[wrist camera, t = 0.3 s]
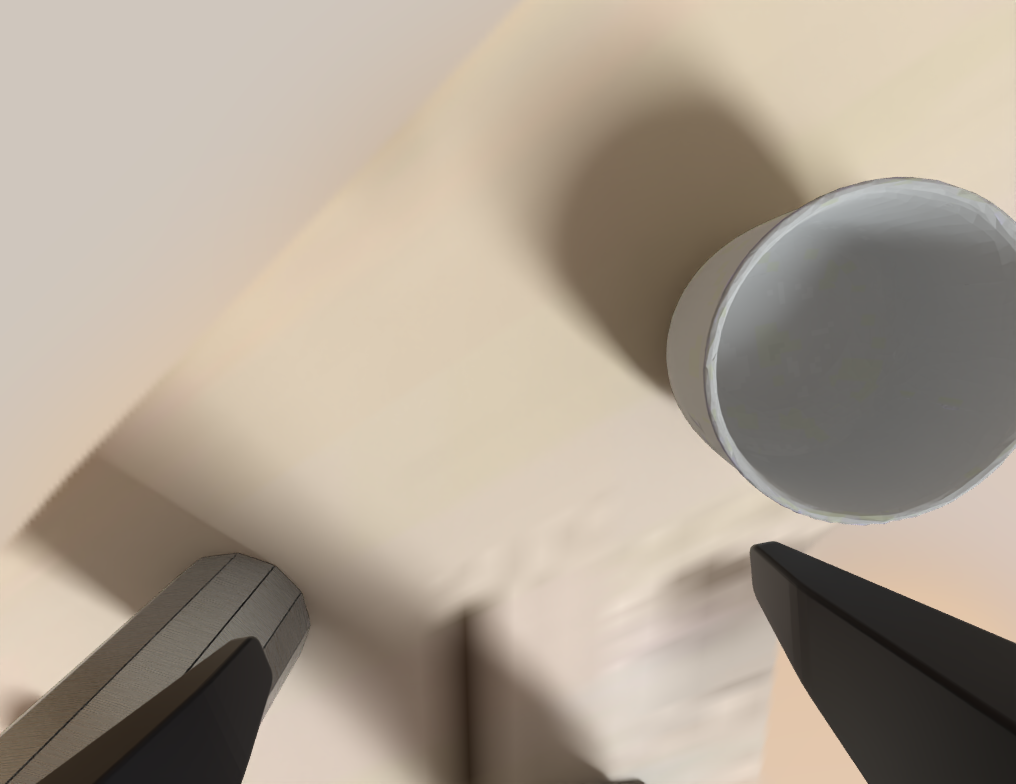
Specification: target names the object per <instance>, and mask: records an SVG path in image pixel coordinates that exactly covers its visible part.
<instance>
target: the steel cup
mask: <svg viewBox="0 0 1016 784" xmlns="http://www.w3.org/2000/svg"><path fill="white" fill-rule="evenodd" d="M300 592H301V591H300V590H299V589H298V588H297V587H296V586H295V585H294V584H293V583H292V582H291V581H290V580H289V579H288V578H287V577H286V576H285V575H284V574H283V573H282V572H281V571H280V570H279V569H278V568H277V567H276V566H275V567H274V565H272V564H269V563H266V562H263V561H260V560H257V559H254V558H251V557H248V556H245V555H243V554H240V553H238V554H237V553H234V554H226V555H219V556H212V557H204V558H200V559H199V560H198V561H197V562H195V563H194V564H193V565H192V566H190V567H189V568H188V569H187V570H185V571H184V572H183V573H182V574H181V575H179V576H178V577H177V578H176V579H174V580H173V581H172V582H171V583H170V584H169V585H168V586H167V587H165V588H164V589H163V590H162V591H161V592H160V593H159V594H158V595H156V596H155V597H154V598H153V599H152V600H151V601H150V602H148V603H147V604H146V605H145V606H144V607H143V608H142V609H141V610H139V611H138V612H137V613H136V614H135V615H134V616H133V617H132V618H130V619H129V620H128V621H127V622H126V623H125V624H124V625H123V626H121V627H120V628H119V629H118V630H117V631H116V632H115V633H113V634H112V635H111V636H110V637H109V638H108V639H107V640H106V641H104V642H103V643H102V644H101V645H100V646H99V647H98V648H97V649H95V650H94V651H93V652H92V653H91V654H90V655H89V656H88V657H86V658H85V659H84V660H83V661H82V662H81V663H80V664H79V665H77V666H76V667H75V668H74V669H73V670H72V671H71V672H69V673H68V674H67V675H66V676H65V677H64V678H63V679H62V680H60V681H59V682H58V683H57V684H56V685H55V686H54V687H53V688H51V689H50V690H49V691H48V692H47V693H46V694H45V695H44V696H42V697H41V698H40V699H39V700H38V701H37V702H36V703H34V704H33V705H32V706H31V707H30V708H29V709H28V710H27V711H25V712H24V713H23V714H22V715H21V716H20V717H19V718H18V719H16V720H15V721H14V722H13V723H12V724H11V725H10V726H9V727H7V728H6V729H5V730H4V731H3V732H2V733H1V734H0V784H36V783H37V782H38V781H40V780H41V779H43V778H44V777H45V776H47V775H48V774H49V773H51V772H52V771H53V770H55V769H56V768H57V767H59V766H60V765H62V764H63V763H64V762H66V761H67V760H68V759H70V758H71V757H72V756H74V755H75V754H76V753H78V752H79V751H81V750H82V749H83V748H85V747H86V746H87V745H89V744H90V743H91V742H93V741H94V740H96V739H97V738H98V737H100V736H101V735H102V734H104V733H105V732H106V731H108V730H109V729H110V728H112V727H113V726H115V725H116V724H117V723H119V722H120V721H121V720H123V719H124V718H125V717H127V716H128V715H129V714H131V713H132V712H134V711H135V710H136V709H138V708H139V707H140V706H142V705H143V704H144V703H146V702H147V701H149V700H150V699H151V698H153V697H154V696H155V695H157V694H158V693H159V692H161V691H162V690H163V689H165V688H166V687H168V686H169V685H170V684H172V683H173V682H174V681H176V680H177V679H178V678H180V677H181V676H182V675H184V674H185V673H187V672H188V671H189V670H191V669H192V668H193V667H195V666H196V665H197V664H199V663H200V662H202V661H203V660H204V659H206V658H207V657H208V656H210V655H211V654H212V653H214V652H215V651H216V650H218V649H219V648H221V647H222V646H223V645H225V644H226V643H227V642H229V641H230V640H233V639H236V638H241V637H247V636H255V637H257V638H258V639H259V641H260V643H261V645H262V647H263V650H264V652H265V655H266V657H267V659H268V662H269V664H270V667H271V669H272V674H273V680H272V686H271V690H270V693H269V696H268V700H267V703H266V706H265V709H264V713H263V716H262V719H261V722H262V720H263V719H264V717H265V715H266V713H267V712H268V710H269V708H270V706H271V705H272V703H273V701H274V699H275V698H276V696H277V694H278V692H279V691H280V689H281V687H282V685H283V683H284V682H285V680H286V678H287V676H288V675H289V673H290V671H291V669H292V668H293V666H294V664H295V662H296V661H297V659H298V657H299V655H300V653H301V651H302V648H303V645H304V642H305V639H306V636H307V633H308V630H309V628H310V621H309V617H308V614H307V610H306V606H305V603H304V599H303V595H302V593H300ZM260 724H261V723H260Z"/></svg>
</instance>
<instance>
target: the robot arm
mask: <svg viewBox="0 0 1016 784" xmlns="http://www.w3.org/2000/svg"><path fill="white" fill-rule="evenodd" d="M750 563H751V574H752V585H753V590H754V593H755V596H756V598H757V600H758V602H759V604H760V606H761V608H762V610H763V612H764V614H765V616H766V617H767V619H768V621H769V623H770V625H771V627H772V629H773V631H774V632H775V634H776V636H777V638H778V640H779V642H780V644H781V646H782V647H783V649H784V651H785V653H786V655H787V657H788V659H789V661H790V663H791V664H792V666H793V668H794V670H795V672H796V674H797V675H798V677H799V679H800V681H801V683H802V684H803V686H804V688H805V689H806V691H807V692H808V694H809V695H810V697H811V699H812V700H813V702H814V703H815V705H816V706H817V708H818V709H819V711H820V712H821V714H822V715H823V716H824V718H825V720H826V721H827V723H828V724H829V725H830V727H831V729H832V730H833V732H834V733H835V735H836V736H837V738H838V739H839V740H840V742H841V744H842V745H843V747H844V748H845V750H846V751H847V753H848V754H849V756H850V757H851V759H852V760H853V762H854V763H855V765H856V766H857V768H858V769H859V771H860V772H861V774H862V775H863V777H864V778H865V780H866V781H867V783H868V784H1016V643H1014V642H1012V641H1009V640H1007V639H1004V638H1002V637H1000V636H997V635H995V634H993V633H990V632H988V631H986V630H983V629H981V628H979V627H976V626H974V625H972V624H969V623H967V622H964V621H962V620H960V619H957V618H955V617H953V616H950V615H948V614H946V613H943V612H941V611H939V610H936V609H934V608H931V607H929V606H926V605H924V604H922V603H920V602H917V601H915V600H913V599H910V598H908V597H906V596H903V595H901V594H899V593H896V592H894V591H891V590H889V589H887V588H884V587H882V586H880V585H877V584H875V583H873V582H870V581H868V580H865V579H863V578H861V577H858V576H856V575H854V574H851V573H849V572H847V571H844V570H842V569H839V568H837V567H835V566H833V565H830V564H827V563H825V562H823V561H821V560H818V559H816V558H814V557H811V556H809V555H807V554H804V553H802V552H800V551H797V550H795V549H793V548H790V547H788V546H785V545H783V544H781V543H778V542H775V541H771V542H766V543H760V544H755V545H753V546H752V547H751V548H750ZM272 680H273V674H272V669H271V667H270V664H269V662H268V659H267V657H266V655H265V652H264V650H263V647H262V645H261V643H260V641H259V639H258V638H257V637H255V636H247V637H241V638H236V639H233V640H230V641H229V642H227V643H226V644H225V645H223V646H222V647H221V648H219V649H218V650H216V651H215V652H214V653H212V654H211V655H210V656H208V657H207V658H206V659H204V660H203V661H202V662H200V663H199V664H197V665H196V666H195V667H193V668H192V669H191V670H189V671H188V672H187V673H185V674H184V675H182V676H181V677H180V678H178V679H177V680H176V681H174V682H173V683H172V684H170V685H169V686H168V687H166V688H165V689H163V690H162V691H161V692H159V693H158V694H157V695H155V696H154V697H153V698H151V699H150V700H149V701H147V702H146V703H144V704H143V705H142V706H140V707H139V708H138V709H136V710H135V711H134V712H132V713H131V714H129V715H128V716H127V717H125V718H124V719H123V720H121V721H120V722H119V723H117V724H116V725H115V726H113V727H112V728H110V729H109V730H108V731H106V732H105V733H104V734H102V735H101V736H100V737H98V738H97V739H96V740H94V741H93V742H91V743H90V744H89V745H87V746H86V747H85V748H83V749H82V750H81V751H79V752H78V753H76V754H75V755H74V756H72V757H71V758H70V759H68V760H67V761H66V762H64V763H63V764H62V765H60V766H59V767H57V768H56V769H55V770H53V771H52V772H51V773H49V774H48V775H47V776H45V777H44V778H43V779H41V780H40V781H38V782H37V783H36V784H241V783H242V780H243V777H244V774H245V771H246V768H247V765H248V762H249V759H250V756H251V752H252V749H253V746H254V742H255V739H256V736H257V733H258V729H259V726H260V723H261V719H262V716H263V713H264V709H265V706H266V703H267V700H268V696H269V693H270V690H271V686H272Z"/></svg>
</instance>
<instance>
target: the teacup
mask: <svg viewBox="0 0 1016 784" xmlns="http://www.w3.org/2000/svg"><path fill="white" fill-rule="evenodd" d="M666 361H667V370H668V376H669V381H670V385H671V388H672V392H673V394H674V397H675V399H676V401H677V404H678V406H679V408H680V410H681V411H682V413H683V415H684V417H685V418H686V420H687V421H688V423H689V424H690V425H691V427H692V428H693V430H694V431H695V432H696V433H697V434H698V435H699V436H700V437H701V438H702V439H703V440H704V441H705V442H706V443H707V444H708V445H709V446H710V447H711V448H712V449H713V450H714V451H715V452H717V453H718V454H719V455H720V456H721V457H722V458H724V459H725V460H726V461H727V462H729V463H730V464H731V465H732V466H733V467H735V468H736V469H737V470H738V471H739V473H740V474H741V475H742V476H744V477H745V478H746V479H747V480H748V481H749V482H750V483H751V484H752V485H753V486H754V487H755V488H757V489H758V490H759V491H760V492H762V493H763V494H765V495H766V496H767V497H769V498H771V499H772V500H774V501H775V502H777V503H779V504H780V505H782V506H784V507H786V508H789V509H791V510H792V511H794V512H796V513H799V514H803V515H806V516H809V517H812V518H814V519H818V520H823V521H826V522H830V523H842V524H851V525H869V524H885V523H888V522H890V521H896V520H902V519H904V518H912V517H917V516H919V515H921V514H924V513H927V512H930V511H932V510H935V509H938V508H940V507H942V506H944V505H946V504H949V503H951V502H952V501H954V500H955V499H957V498H959V497H960V496H962V495H963V494H965V493H966V492H968V491H969V490H971V489H972V488H974V487H975V486H977V485H978V484H980V483H981V482H982V481H983V480H984V479H986V478H987V477H988V476H989V475H990V474H991V473H993V472H994V471H995V470H996V469H997V468H998V467H999V466H1000V465H1002V463H1003V462H1004V460H1005V459H1006V458H1007V457H1008V456H1009V454H1011V453H1012V451H1013V450H1014V449H1015V448H1016V222H1015V221H1014V220H1013V219H1012V218H1011V217H1010V216H1008V215H1007V214H1006V213H1005V212H1004V211H1002V210H1001V209H1000V208H999V207H997V206H996V205H994V204H993V203H991V202H990V201H988V200H986V199H985V198H983V197H981V196H979V195H977V194H976V193H973V192H970V191H968V190H965V189H962V188H959V187H956V186H953V185H950V184H947V183H944V182H941V181H938V180H931V179H923V178H914V177H892V178H883V179H875V180H870V181H865V182H861V183H857V184H854V185H850V186H847V187H843V188H839V189H837V190H834V191H832V192H830V193H828V194H825V195H823V196H820V197H818V198H816V199H814V200H813V201H811V202H809V203H807V204H805V205H804V206H802V207H800V208H799V209H796V210H794V211H791V212H789V213H786V214H784V215H781V216H779V217H776V218H774V219H772V220H770V221H767V222H765V223H763V224H761V225H759V226H757V227H754V228H752V229H751V230H749V231H747V232H745V233H744V234H742V235H740V236H738V237H737V238H735V239H734V240H732V241H731V242H729V243H728V244H726V245H725V246H724V247H722V248H721V249H720V250H719V251H718V252H716V253H715V254H714V255H713V256H712V257H711V258H710V259H708V260H707V261H706V263H705V264H704V265H703V266H702V267H701V268H700V269H699V270H698V271H697V272H696V274H695V275H694V277H693V278H692V280H691V281H690V282H689V284H688V285H687V287H686V288H685V290H684V292H683V294H682V295H681V297H680V299H679V301H678V304H677V306H676V309H675V311H674V314H673V316H672V320H671V324H670V328H669V332H668V338H667V354H666Z"/></svg>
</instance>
